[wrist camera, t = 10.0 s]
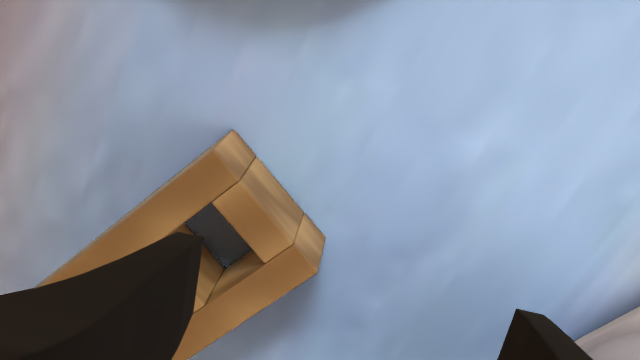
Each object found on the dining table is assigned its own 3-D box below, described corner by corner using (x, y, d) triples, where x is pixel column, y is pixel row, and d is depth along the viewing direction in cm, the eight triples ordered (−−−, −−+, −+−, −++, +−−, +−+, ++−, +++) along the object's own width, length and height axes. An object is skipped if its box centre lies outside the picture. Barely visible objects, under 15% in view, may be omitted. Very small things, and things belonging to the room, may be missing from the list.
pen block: (326, 237, 24) (318, 272, 22) (90, 398, 29) (57, 445, 26) (234, 128, 23) (213, 150, 20) (2, 313, 27) (-42, 352, 25)
